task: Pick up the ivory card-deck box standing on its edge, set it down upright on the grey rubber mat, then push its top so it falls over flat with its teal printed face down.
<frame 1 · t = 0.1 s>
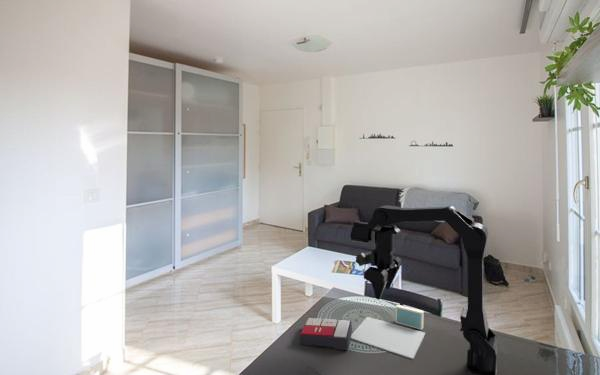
hand: (382, 293, 102), 15 cm above the table, tool pointing down, fingers open, 9 cm apart
deck: (409, 325, 111), on the table
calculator: (326, 338, 103), on the table, touching mat
mat: (387, 336, 104), on the table
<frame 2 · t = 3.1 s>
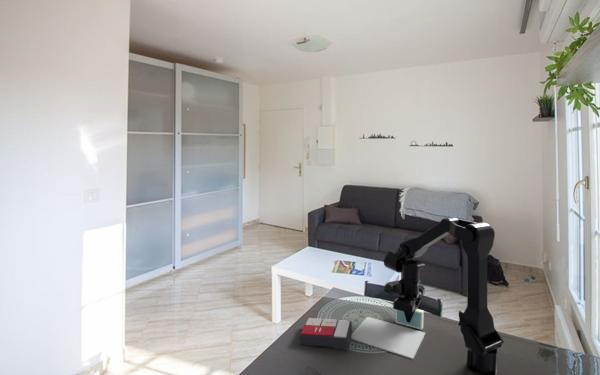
hand: (409, 320, 111), 2 cm above the table, tool pointing down, fingers closed on deck, 2 cm apart
deck: (409, 324, 111), on the table, touching gripper
everything else where it was.
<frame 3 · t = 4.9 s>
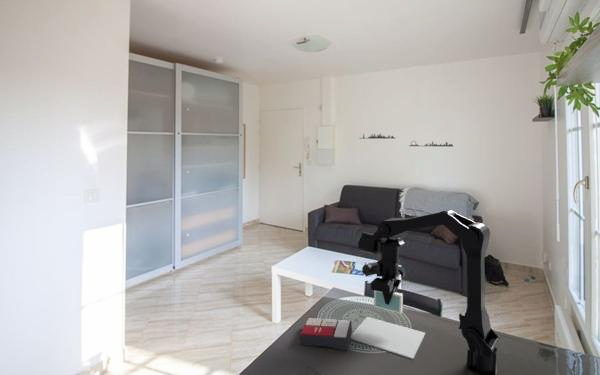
hand: (388, 303, 106), 10 cm above the table, tool pointing down, fingers closed on deck
deck: (388, 309, 106), point 8 cm above the table, touching gripper
everything else where it was.
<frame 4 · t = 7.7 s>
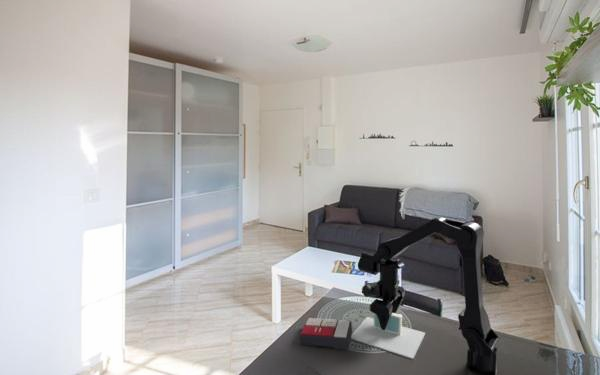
hand: (387, 323, 107), 3 cm above the table, tool pointing down, fingers open, 9 cm apart
deck: (387, 329, 107), resting on mat
everything else where it was.
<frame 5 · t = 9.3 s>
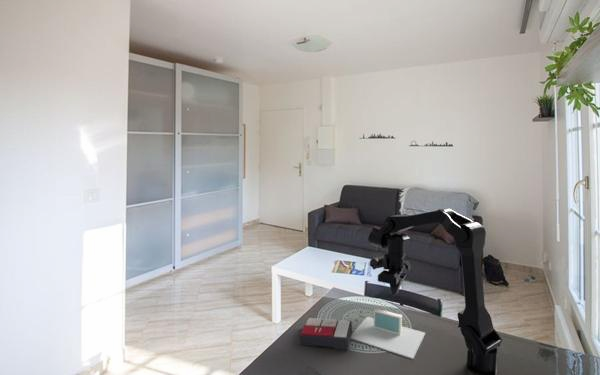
hand: (394, 294, 112), 10 cm above the table, tool pointing down, fingers closed
nothing on the table moved.
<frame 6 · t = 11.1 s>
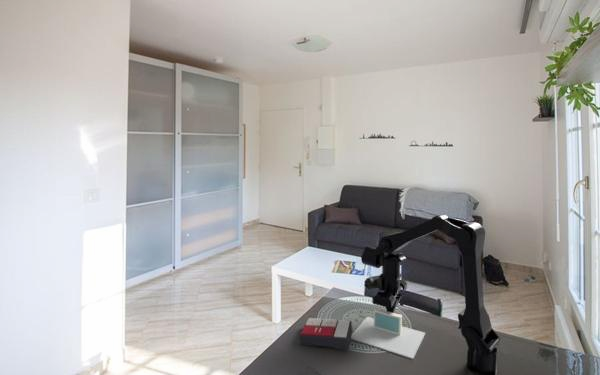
hand: (390, 316, 108), 4 cm above the table, tool pointing down, fingers closed
deck: (387, 329, 107), resting on mat, touching gripper
everything else where it was.
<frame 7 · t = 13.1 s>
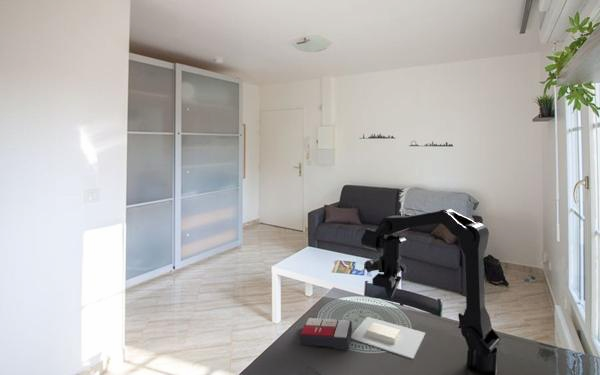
hand: (389, 298, 108), 10 cm above the table, tool pointing down, fingers closed
deck: (386, 328, 106), point 1 cm above the table, tilted 90°, touching mat
everything else where it was.
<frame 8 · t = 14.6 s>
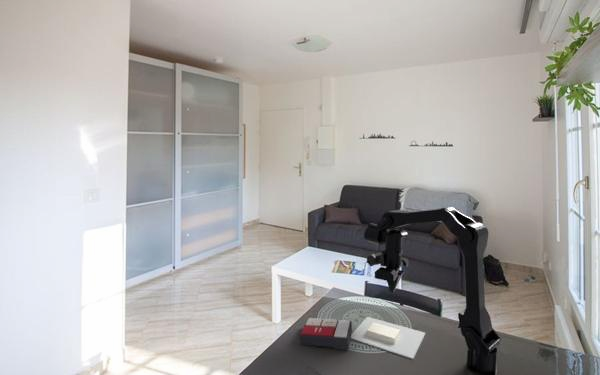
hand: (391, 292, 109), 12 cm above the table, tool pointing down, fingers closed
nothing on the table moved.
at the end: deck tilted 90°; deck inside the target area on the mat (2.2 cm from its centre), point 1.3 cm above the mat's base; the gripper is holding nothing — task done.
